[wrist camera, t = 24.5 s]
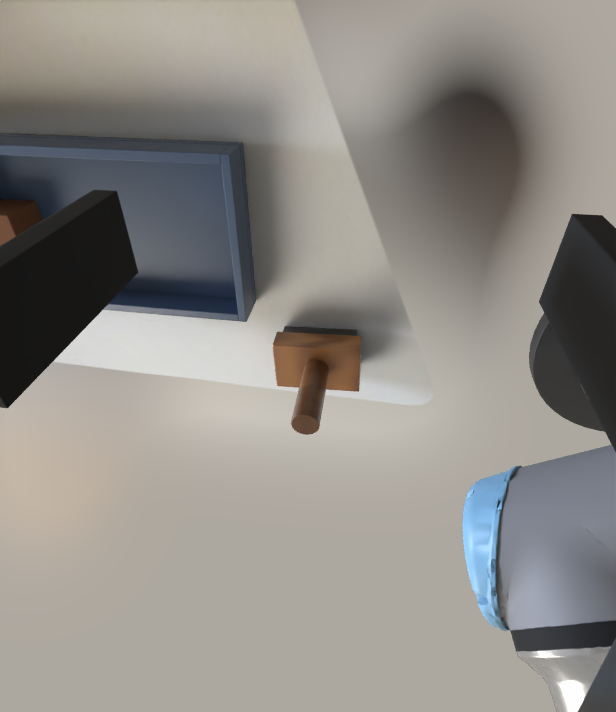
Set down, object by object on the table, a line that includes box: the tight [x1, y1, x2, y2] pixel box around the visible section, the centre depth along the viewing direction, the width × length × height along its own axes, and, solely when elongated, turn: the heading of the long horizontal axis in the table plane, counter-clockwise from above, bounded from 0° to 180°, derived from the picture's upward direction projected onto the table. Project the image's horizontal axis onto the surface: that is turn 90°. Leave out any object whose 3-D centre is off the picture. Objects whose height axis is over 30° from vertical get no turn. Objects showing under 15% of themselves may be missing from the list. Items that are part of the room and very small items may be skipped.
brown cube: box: [0, 199, 42, 246], centre depth 42 cm, size 4×4×4 cm
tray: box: [0, 133, 256, 322], centre depth 42 cm, size 26×16×4 cm, turn 90°
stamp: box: [273, 327, 362, 434], centre depth 45 cm, size 9×6×12 cm, turn 93°
